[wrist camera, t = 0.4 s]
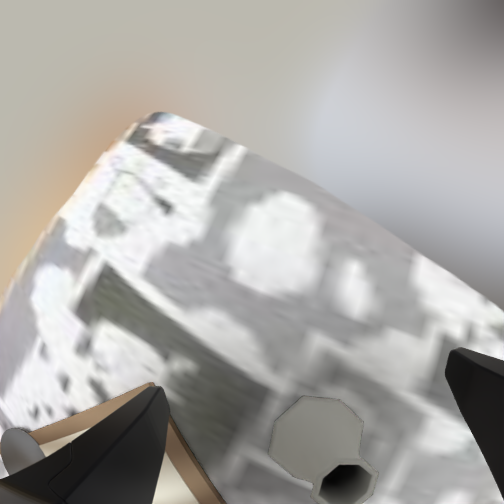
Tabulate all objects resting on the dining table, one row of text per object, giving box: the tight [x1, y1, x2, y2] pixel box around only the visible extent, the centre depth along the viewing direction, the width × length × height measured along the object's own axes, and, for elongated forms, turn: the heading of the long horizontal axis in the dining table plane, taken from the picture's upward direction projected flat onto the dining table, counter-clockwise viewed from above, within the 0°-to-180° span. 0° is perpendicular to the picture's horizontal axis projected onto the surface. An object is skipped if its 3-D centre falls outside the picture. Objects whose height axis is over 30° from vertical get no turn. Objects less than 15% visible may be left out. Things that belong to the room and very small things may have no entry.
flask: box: [268, 396, 379, 504], centre depth 16 cm, size 7×7×10 cm
